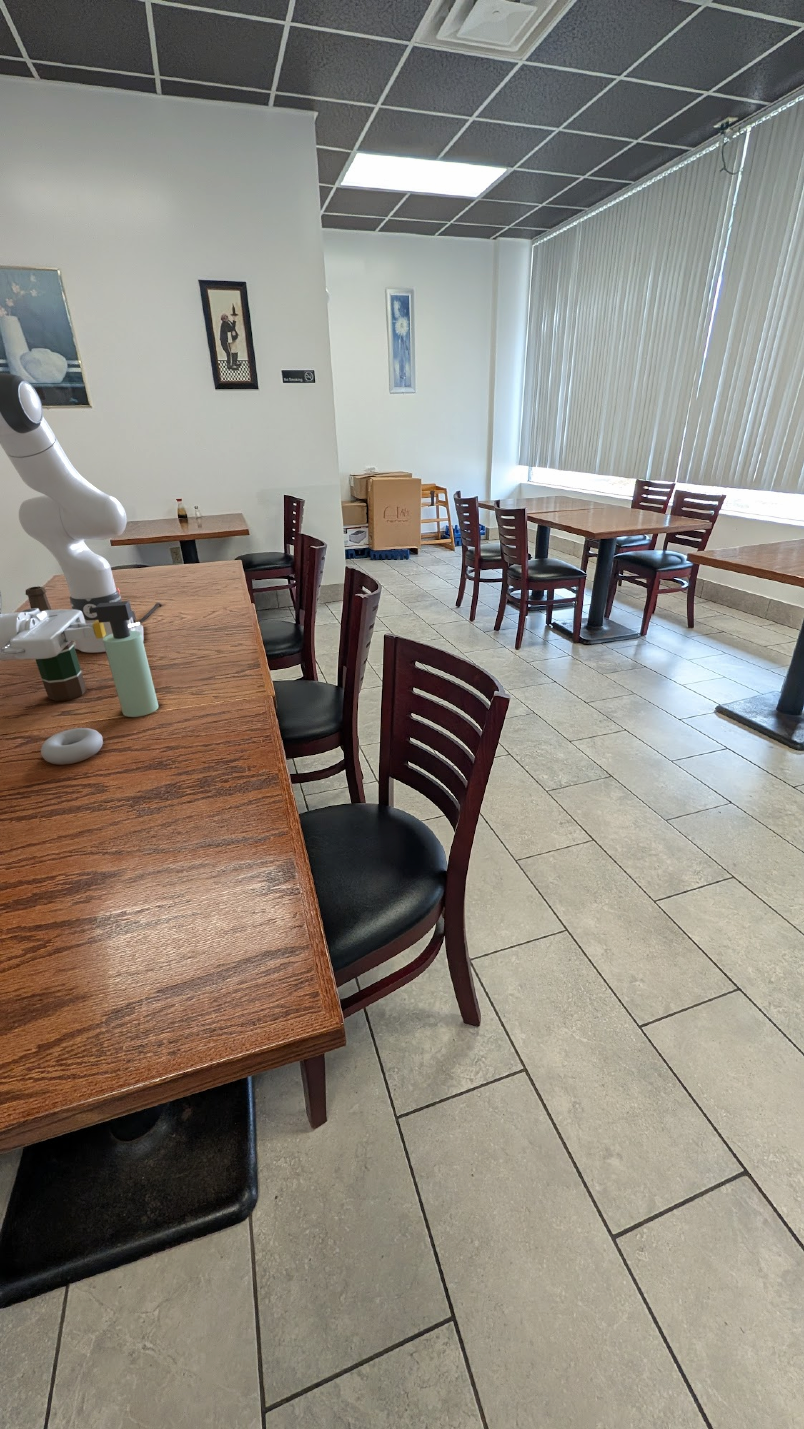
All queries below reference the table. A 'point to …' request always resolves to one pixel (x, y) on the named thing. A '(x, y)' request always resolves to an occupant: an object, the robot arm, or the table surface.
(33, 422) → the robot arm
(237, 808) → the table surface
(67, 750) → the donut
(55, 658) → the beer bottle
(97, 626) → the block
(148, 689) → the spray bottle
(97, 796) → the table surface
